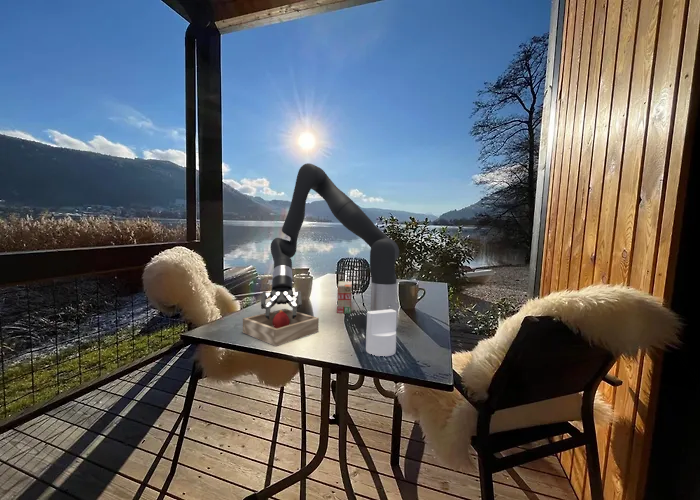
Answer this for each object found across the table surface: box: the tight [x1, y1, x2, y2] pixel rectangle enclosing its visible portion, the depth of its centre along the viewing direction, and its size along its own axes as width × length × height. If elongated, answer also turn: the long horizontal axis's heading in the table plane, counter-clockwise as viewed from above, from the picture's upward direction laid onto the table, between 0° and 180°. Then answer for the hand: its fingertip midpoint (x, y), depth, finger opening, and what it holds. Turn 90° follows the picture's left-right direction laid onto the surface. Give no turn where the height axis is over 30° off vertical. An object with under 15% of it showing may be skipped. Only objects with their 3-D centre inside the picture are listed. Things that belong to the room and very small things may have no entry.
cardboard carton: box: [336, 280, 353, 314], centre depth 143 cm, size 21×6×12 cm, turn 179°
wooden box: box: [242, 308, 320, 347], centre depth 106 cm, size 18×18×5 cm
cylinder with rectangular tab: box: [365, 309, 397, 357], centre depth 91 cm, size 9×9×12 cm
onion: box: [272, 309, 290, 328], centre depth 106 cm, size 6×6×8 cm
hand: (281, 318), depth 105 cm, fingers open, 8 cm apart
